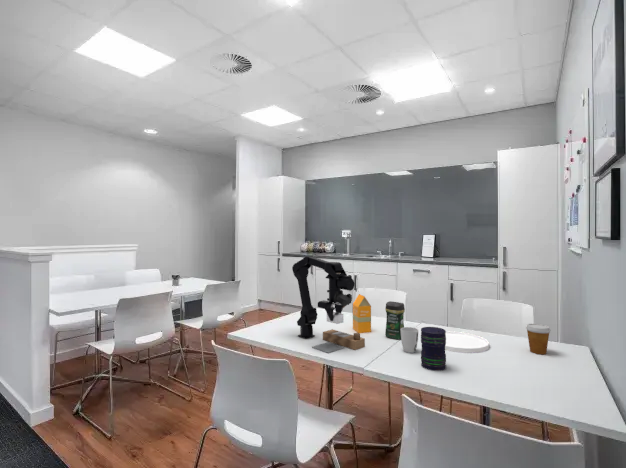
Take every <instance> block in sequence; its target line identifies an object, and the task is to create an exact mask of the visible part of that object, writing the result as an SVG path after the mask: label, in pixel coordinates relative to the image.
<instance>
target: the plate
mask: <svg viewBox="0 0 626 468" xmlns="http://www.w3.org/2000/svg"><path fill="white" fill-rule="evenodd" d="M445 331H446V333H445V334H446V345H445V352H446V351H448V352H451V353H460V354H462V353H463V354H476V353H477V354H478V353H482V352H487V351H488V350H489V348H490V342H489V340H488V339H486V338H485V337H482V336H479V335H477V334H474V333H470V332H469V333H468V332H463V331H462V332H461V331H454V330H453V331H452V330H450V331H448V330H445Z"/></svg>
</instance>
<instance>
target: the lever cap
mask: <svg viewBox="0 0 626 468" xmlns="http://www.w3.org/2000/svg"><path fill="white" fill-rule="evenodd" d="M326 322H328V323H332V324H336V325H338V324H342V323H344V313H342V312H341V313H340V312H336V311H333V321H330V318H329V316H328V314H327V313H326Z"/></svg>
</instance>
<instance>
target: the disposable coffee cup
mask: <svg viewBox="0 0 626 468" xmlns="http://www.w3.org/2000/svg"><path fill="white" fill-rule="evenodd" d="M525 329H526V333H527V338H528V339H527V340H528V346H529V347H528V348H529V352H531V353H532V354H535V355H547V350H548V344H549V338H550V337H549V336H550V333H551V329H550V326H548V325H546V324H541V323H527V324H526V326H525Z"/></svg>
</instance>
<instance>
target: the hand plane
mask: <svg viewBox="0 0 626 468" xmlns="http://www.w3.org/2000/svg"><path fill="white" fill-rule="evenodd" d="M322 341H326V342H330V343H333V344H336V345H339V346H342V347H344V348H348V349H351V350H353V351H356V350H359V349H363V348H365V347H366V339H365V338H364V337H361V333H357V332H354V333H353V334H351V333H350V334H349V333H347V332H344V331H341V330H336V329H333V328H332V329H329V330H325V331H322Z"/></svg>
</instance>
